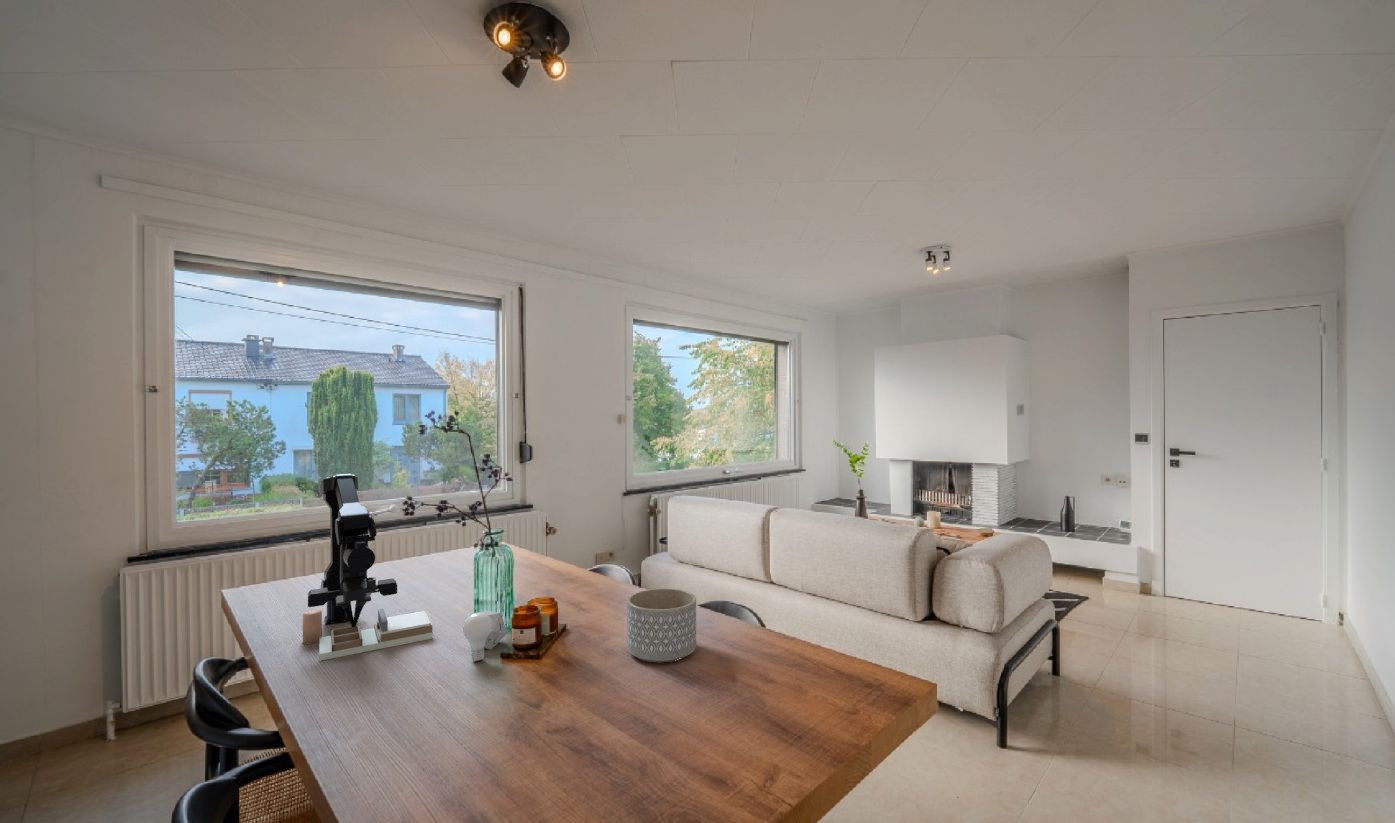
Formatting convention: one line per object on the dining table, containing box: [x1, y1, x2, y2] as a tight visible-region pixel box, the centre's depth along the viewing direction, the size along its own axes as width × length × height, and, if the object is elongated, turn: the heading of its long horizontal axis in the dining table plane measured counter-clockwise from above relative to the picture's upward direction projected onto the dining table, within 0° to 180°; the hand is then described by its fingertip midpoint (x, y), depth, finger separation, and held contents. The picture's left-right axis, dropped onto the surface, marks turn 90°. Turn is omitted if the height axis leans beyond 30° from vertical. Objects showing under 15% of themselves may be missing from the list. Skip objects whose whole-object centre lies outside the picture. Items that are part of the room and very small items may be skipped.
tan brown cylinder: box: [302, 609, 323, 645], centre depth 144 cm, size 4×4×7 cm
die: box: [480, 609, 509, 651], centre depth 141 cm, size 8×9×10 cm
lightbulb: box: [462, 611, 493, 663], centre depth 132 cm, size 6×6×11 cm
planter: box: [626, 588, 697, 663], centre depth 137 cm, size 16×16×13 cm
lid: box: [377, 608, 432, 634], centre depth 147 cm, size 11×11×3 cm
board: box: [318, 620, 434, 662], centre depth 144 cm, size 12×24×3 cm, turn 123°
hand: (353, 626), depth 141 cm, fingers closed
